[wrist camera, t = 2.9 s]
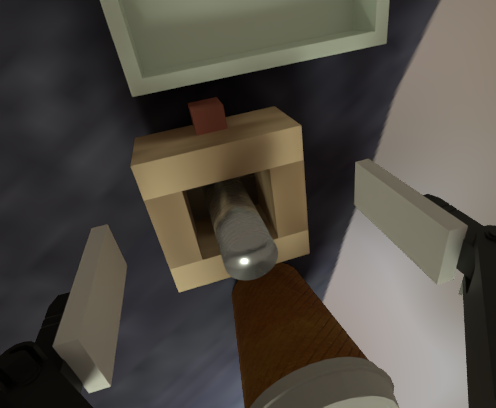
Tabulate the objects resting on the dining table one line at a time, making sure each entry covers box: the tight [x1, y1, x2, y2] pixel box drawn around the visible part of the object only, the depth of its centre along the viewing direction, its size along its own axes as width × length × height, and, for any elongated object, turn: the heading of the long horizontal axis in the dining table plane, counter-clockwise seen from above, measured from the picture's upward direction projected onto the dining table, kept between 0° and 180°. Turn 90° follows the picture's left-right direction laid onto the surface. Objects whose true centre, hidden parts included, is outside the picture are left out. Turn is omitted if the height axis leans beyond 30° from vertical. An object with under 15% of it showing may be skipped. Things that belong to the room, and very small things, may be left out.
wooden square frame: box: [131, 97, 310, 292], centre depth 18 cm, size 8×9×4 cm
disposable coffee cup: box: [232, 263, 399, 408], centre depth 23 cm, size 10×10×12 cm
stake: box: [186, 173, 278, 280], centre depth 17 cm, size 7×7×9 cm
